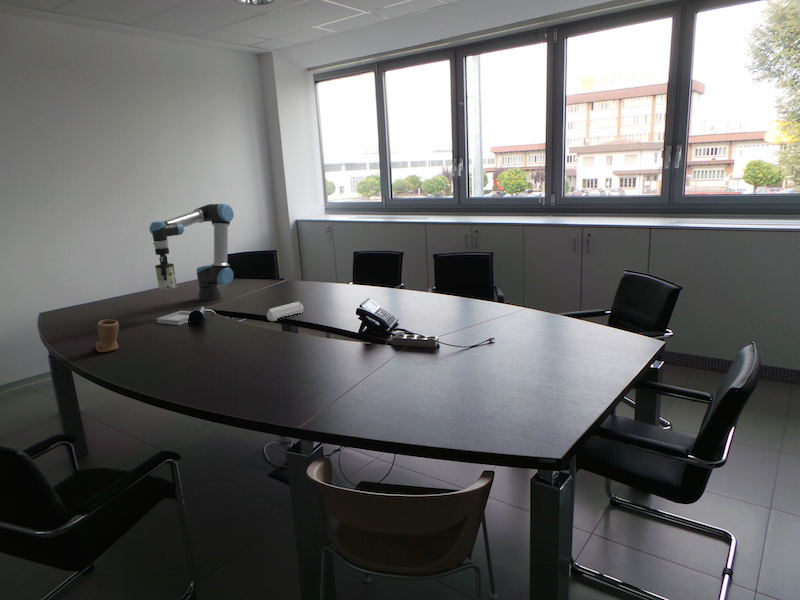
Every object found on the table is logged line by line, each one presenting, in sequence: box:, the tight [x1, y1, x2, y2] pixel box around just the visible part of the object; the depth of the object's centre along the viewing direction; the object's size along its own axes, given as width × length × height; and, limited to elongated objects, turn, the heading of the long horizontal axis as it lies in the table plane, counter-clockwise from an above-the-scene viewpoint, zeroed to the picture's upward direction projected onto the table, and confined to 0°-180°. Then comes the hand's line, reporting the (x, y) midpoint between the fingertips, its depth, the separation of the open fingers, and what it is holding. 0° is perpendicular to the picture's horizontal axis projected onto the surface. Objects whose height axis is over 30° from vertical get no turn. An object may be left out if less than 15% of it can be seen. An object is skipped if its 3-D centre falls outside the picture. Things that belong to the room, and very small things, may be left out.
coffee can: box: [154, 263, 178, 290], centre depth 317 cm, size 10×10×14 cm
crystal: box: [266, 301, 304, 322], centre depth 306 cm, size 7×7×24 cm
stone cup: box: [95, 319, 120, 353], centre depth 264 cm, size 15×12×15 cm
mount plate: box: [156, 310, 192, 326], centre depth 314 cm, size 18×18×2 cm
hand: (167, 284), depth 318 cm, fingers closed on coffee can, 10 cm apart
